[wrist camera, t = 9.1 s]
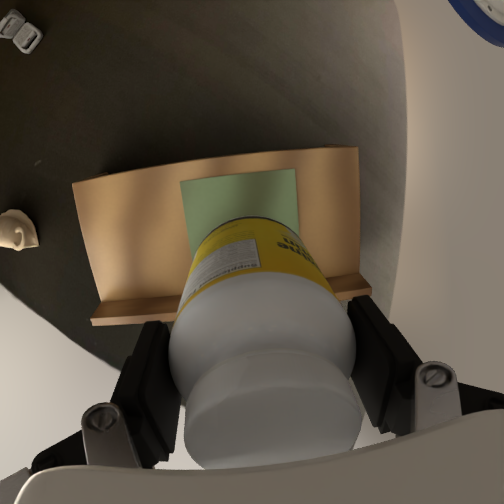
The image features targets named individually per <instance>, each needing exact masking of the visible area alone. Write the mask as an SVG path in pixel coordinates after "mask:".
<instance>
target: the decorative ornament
mask: <svg viewBox="0 0 504 504" xmlns="http://www.w3.org/2000/svg"><path fill="white" fill-rule="evenodd" d="M0 246H4V247H9V248H14V249H15V250H18V251H20V250H22V249H23V248H28V247H35V246H39V244H38V239H37V234H36V230H35V226H34V225H33V223H32V221H31V220H30V219H29V218H28V216H27V215H26V214H24V213H23V212H22V211H20V210H13V209H10V210H8V211H7V212H6V213H2V214H1V216H0Z"/></svg>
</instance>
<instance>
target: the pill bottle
mask: <svg viewBox="0 0 504 504" xmlns="http://www.w3.org/2000/svg"><path fill="white" fill-rule="evenodd" d="M355 359H356V338H355V333H354V329H353V326H352V323H351V321H350V319H349V317H348V315H347V313H346V311H345V310H344V308H343V306H342V305H341V303H340V301H339V300H338V298H337V297H336V295H335V293H334V292H333V290H332V288H331V287H330V285H329V283H328V282H327V280H326V279H325V277H324V275H323V274H322V272H321V271H320V269H319V267H318V266H317V264H316V262H315V261H314V259H313V258H312V256H311V254H310V253H309V251H308V250H307V248H306V246H305V245H304V243H303V242H302V240H301V239H300V238H299V237H298V236H297V234H296V233H295V232H294V231H292V230H291V229H290V228H289V227H287V226H286V225H284V224H283V223H281V222H279V221H277V220H274V219H271V218H268V217H263V216H242V217H237V218H234V219H230V220H228V221H226V222H224V223H222V224H220V225H219V226H217V227H216V228H214V229H213V230H212V231H211V232H210V233H209V234H208V235H207V236H206V237H205V238H204V239H203V241H202V242H201V243H200V245H199V247H198V249H197V251H196V253H195V256H194V258H193V262H192V265H191V268H190V272H189V275H188V278H187V281H186V284H185V288H184V291H183V294H182V297H181V301H180V304H179V308H178V311H177V315H176V318H175V321H174V325H173V328H172V332H171V336H170V341H169V349H168V360H169V367H170V372H171V375H172V378H173V381H174V383H175V385H176V387H177V389H178V391H179V393H180V394H181V395H182V397H183V398H184V399H185V401H186V402H187V403H186V412H185V427H184V442H185V447H186V449H187V451H188V453H189V454H190V456H191V458H192V459H193V460H194V461H195V462H196V463H198V464H199V465H200V466H201V467H202V468H204V469H205V470H207V469H228V468H242V467H253V466H263V465H272V464H280V463H287V462H294V461H300V460H306V459H312V458H317V457H322V456H327V455H332V454H337V453H341V452H346V451H348V450H349V449H350V448H351V447H352V445H353V444H354V443H355V441H356V439H357V437H358V435H359V432H360V430H361V422H362V417H361V412H360V408H359V406H358V404H357V401H356V399H355V396H354V394H353V391H352V389H351V386H350V384H349V382H348V380H349V378H350V375H351V373H352V370H353V367H354V364H355Z"/></svg>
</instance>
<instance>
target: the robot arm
mask: <svg viewBox="0 0 504 504" xmlns="http://www.w3.org/2000/svg"><path fill="white" fill-rule="evenodd" d="M474 2H475V3H476V4H477V5H478V6H479V7H480V9H481V10H482V11H483V12H484V13H485V14H486V15H487V16H488V17H490V18H491V19H492V20H494V21H495V22H496V23H498V24H500V25H502V26H504V0H474ZM347 315H348V317H349V319H350V321H351V323H352V326H353V329H354V333H355V338H356V359H355V364H354V367H353V370H352V373H351V378H352V380H353V382H354V384H355V387H356V389H357V391H358V393H359V396H360V398H361V400H362V403H363V405H364V407H365V409H366V412H367V414H368V416H369V419H370V421H371V423H372V425H373V427H378V429H379V431H380V433H381V434H383V433H387V432H390V431H391V432H392V433H394V434H396V438H394V439H391V440H388V441H384V442H381V443H377V444H374V445H370V446H366V447H362V448H358V449H354V450H350V451H346V452H341V453H337V454H332V455H327V456H322V457H317V458H312V459H306V460H300V461H294V462H287V463H280V464H272V465H263V466H253V467H242V468H228V469H207V470H162V469H155V467H154V465H156V464H157V463H158V462H159V461H166V462H167V461H168V460H169V453H173V452H174V449H175V440H176V433H177V426H178V419H179V411H180V405H181V398H182V395H181V394H180V393H179V391H178V389H177V387H176V385H175V383H174V381H173V378H172V375H171V372H170V367H169V360H168V349H169V341H170V333H169V330H168V326H167V324H162V322H161V321H160V320H156V321H146V322H145V324H144V326H143V329H142V331H141V334H140V336H139V339H138V341H137V344H136V346H135V349H134V351H133V354H132V356H128V357H127V359H126V361H125V363H124V366H123V369H122V371H121V374H120V376H119V379H118V382H117V384H116V387H115V389H114V392H113V395H112V398H111V400H110V403H107V402H104V403H98V404H96V405H93V406H92V407H90V408H89V409H88V410H87V411H86V412H85V413H84V414H83V416H82V420H81V425H82V430H80V431H78V432H76V433H75V434H73V435H71V436H69V437H68V438H66V439H64V440H62V441H60V442H58V443H57V444H55V445H53V446H51V447H49V448H48V449H46V450H44V451H42V452H40V453H39V454H38V455H37V456H36V457H35V458H34V460H33V462H32V467H31V469H28V468H27V467H25V468H23V469H21V470H20V471H18V472H16V473H14V474H13V475H10V476H9V477H7V478H5V479H3V480H1V481H0V504H504V394H502V393H499V392H495V391H490V390H486V389H482V388H478V387H474V386H470V385H466V384H463V383H459V382H457V378H456V374H455V371H454V370H453V369H452V368H451V367H450V366H448V365H447V364H445V363H442V362H438V361H429V362H426V363H423V362H422V361H421V360H420V358H419V357H418V355H417V354H416V353H415V351H414V350H413V349H412V347H411V346H410V345H409V343H408V342H407V340H406V339H405V338H404V336H403V335H402V334H401V333H400V331H399V330H398V329H397V327H396V326H395V325H394V324H390V323H389V321H388V320H387V319H386V317H385V316H384V315H383V313H382V312H381V311H380V309H379V308H378V307H377V305H376V304H375V303H374V302H373V300H372V299H371V298H370V296H369V295H361V296H355V297H353V298H352V301H349V302H348V309H347Z"/></svg>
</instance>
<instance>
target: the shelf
mask: <svg viewBox="0 0 504 504" xmlns="http://www.w3.org/2000/svg"><path fill="white" fill-rule="evenodd" d="M72 186H73V192H74V197H75V202H76V207H77V212H78V216H79V221H80V225H81V230H82V234H83V238H84V242H85V246H86V250H87V254H88V257H89V261H90V265H91V268H92V272H93V275H94V279H95V282H96V285H97V289H98V292H99V295H100V298H101V301H102V302H101V303H100V305H99V306H98V308H97V309H96V311H95V312H94V314H93V315H92V317H91V318H90V319H91V322H92V324H93V326H101V325H120V324H136V323H145V322H146V321H156V320H160V321H161V322H164V321H175V318H176V315H177V311H178V308H179V304H180V301H181V297H182V294H183V291H184V288H185V284H186V281H187V278H188V275H189V272H190V268H191V265H192V262H193V258H194V256H195V253H196V251H197V249H198V247H199V245H200V243H201V242H202V241H203V239H204V238H205V237H206V236H207V235H208V234H209V233H210V232H211V231H212V230H213V229H214V228H216V227H217V226H219V225H220V224H222V223H224V222H226V221H228V220H230V219H234V218H237V217H242V216H263V217H268V218H271V219H274V220H277V221H279V222H281V223H283V224H284V225H286V226H287V227H289V228H290V229H291V230H292V231H294V232H295V233H296V234H297V236H298V237H299V238H300V239H301V240H302V242H303V243H304V245H305V246H306V248H307V250H308V251H309V253H310V254H311V256H312V258H313V259H314V261H315V262H316V264H317V266H318V267H319V269H320V271H321V272H322V274H323V275H324V277H325V279H326V280H327V282H328V283H329V285H330V287H331V288H332V290H333V292H334V293H335V295H336V297H337V298H338V300H339V301H342V300H348V299H352V298H353V297H355V296H361V295H369V296H371V295H372V287H371V286H370V285H369V283H368V282H367V281H366V280H365V279H364V278H363V276H362V275H361V274H360V273H359V267H360V176H359V153H358V147H357V146H348V145H339V144H326V145H325V147H317V148H300V149H286V150H274V151H263V152H252V153H243V154H234V155H225V156H217V157H209V158H202V159H195V160H188V161H181V162H175V163H168V164H162V165H156V166H150V167H145V168H139V169H134V170H129V171H124V172H118V173H114V174H109V175H108V172H106V173H102V174H97V175H94V176H91V177H89V178H86V179H83V180H80V181H77V182H75V183H72Z"/></svg>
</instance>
